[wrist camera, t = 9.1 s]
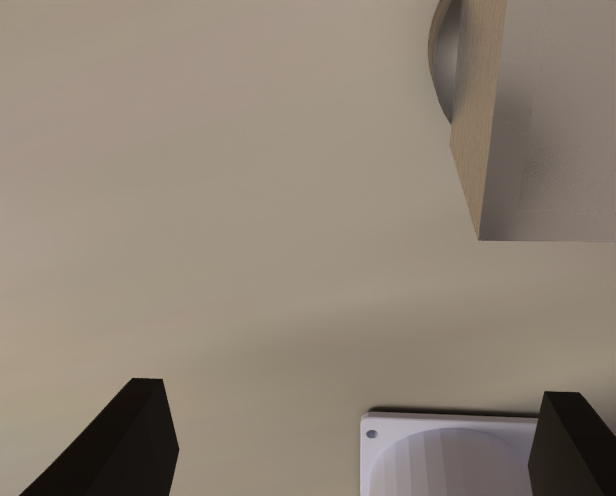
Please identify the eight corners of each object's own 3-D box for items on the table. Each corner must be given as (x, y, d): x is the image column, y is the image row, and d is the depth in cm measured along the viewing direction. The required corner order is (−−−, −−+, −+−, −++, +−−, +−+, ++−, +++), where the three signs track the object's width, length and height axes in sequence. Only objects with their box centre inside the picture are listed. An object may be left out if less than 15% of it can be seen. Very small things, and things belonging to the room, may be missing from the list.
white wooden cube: (622, 143, 17) (719, 243, 12) (449, 144, 17) (478, 240, 12) (669, -45, 14) (813, -14, 10) (464, -38, 15) (507, -4, 10)
